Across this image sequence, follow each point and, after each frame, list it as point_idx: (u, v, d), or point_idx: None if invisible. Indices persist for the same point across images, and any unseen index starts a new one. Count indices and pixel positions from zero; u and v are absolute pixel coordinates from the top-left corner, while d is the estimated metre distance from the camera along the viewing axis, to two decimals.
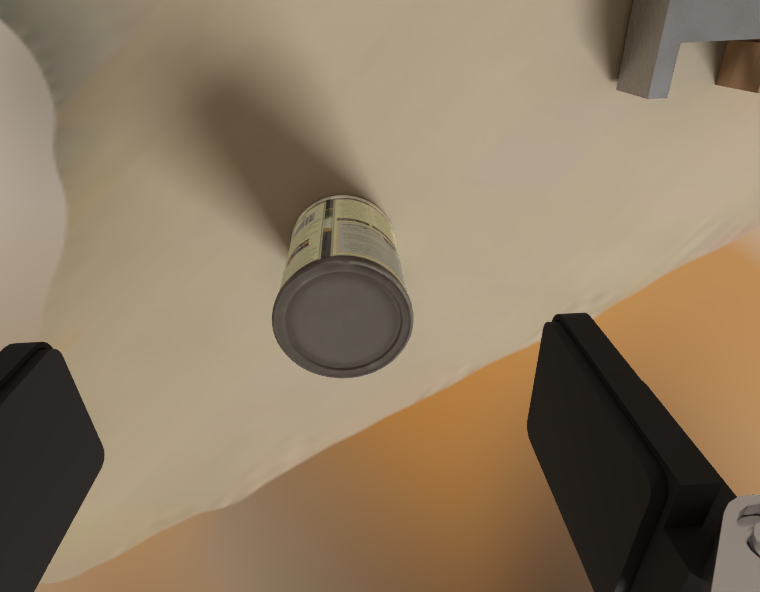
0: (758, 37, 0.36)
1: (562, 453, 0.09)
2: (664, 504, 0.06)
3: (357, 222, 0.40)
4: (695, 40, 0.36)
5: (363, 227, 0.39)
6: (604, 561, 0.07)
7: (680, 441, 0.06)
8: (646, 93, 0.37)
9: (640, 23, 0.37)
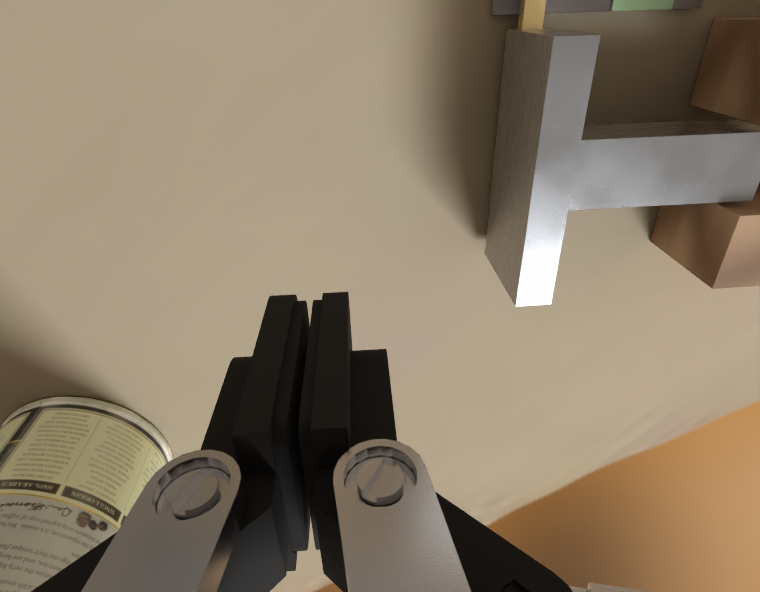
0: (713, 200, 0.20)
1: None
2: (312, 448, 0.07)
3: (29, 491, 0.23)
4: (599, 206, 0.20)
5: (32, 506, 0.22)
6: None
7: (340, 396, 0.07)
8: (514, 295, 0.20)
9: (505, 167, 0.21)
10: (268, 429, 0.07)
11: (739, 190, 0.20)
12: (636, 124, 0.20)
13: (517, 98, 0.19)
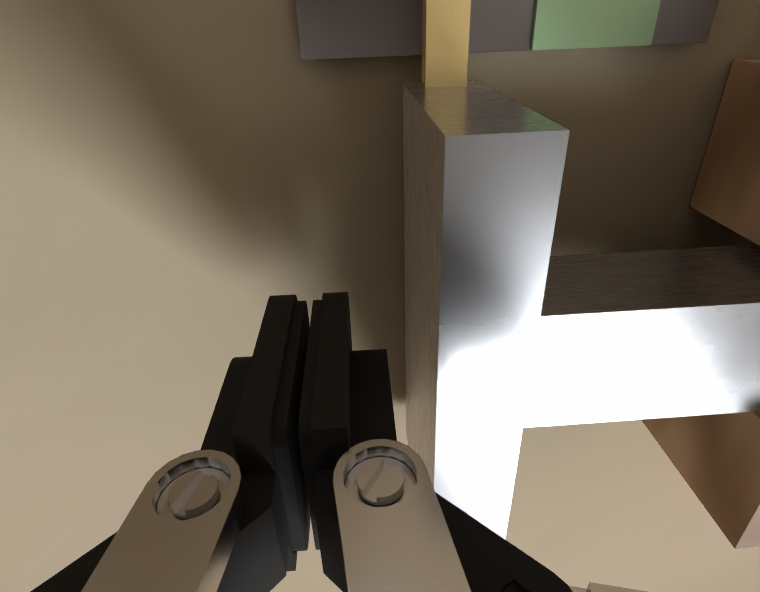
0: None
1: None
2: (312, 448, 0.07)
3: None
4: (587, 419, 0.10)
5: None
6: None
7: (339, 396, 0.07)
8: None
9: (413, 332, 0.11)
10: (268, 429, 0.07)
11: None
12: (656, 255, 0.11)
13: (416, 225, 0.09)
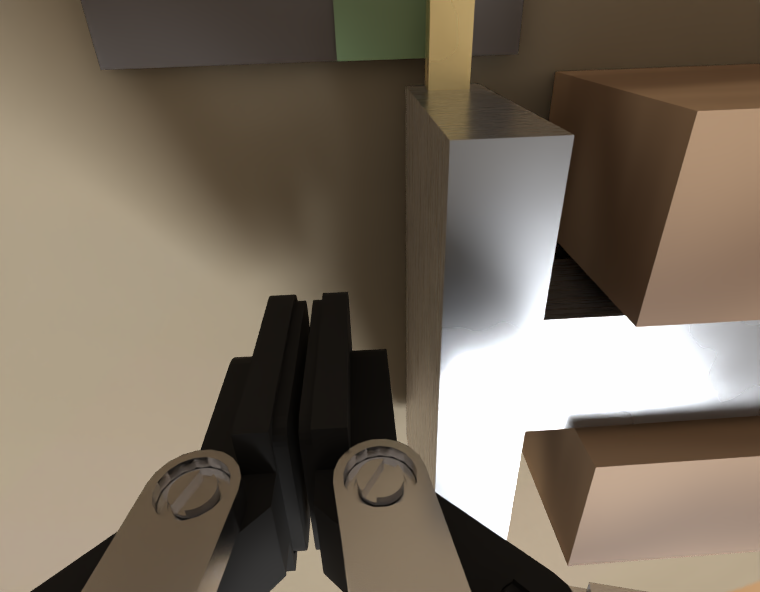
0: None
1: None
2: (312, 448, 0.07)
3: None
4: (588, 423, 0.10)
5: None
6: None
7: (340, 396, 0.07)
8: None
9: (414, 335, 0.11)
10: (268, 429, 0.07)
11: None
12: None
13: (418, 228, 0.09)
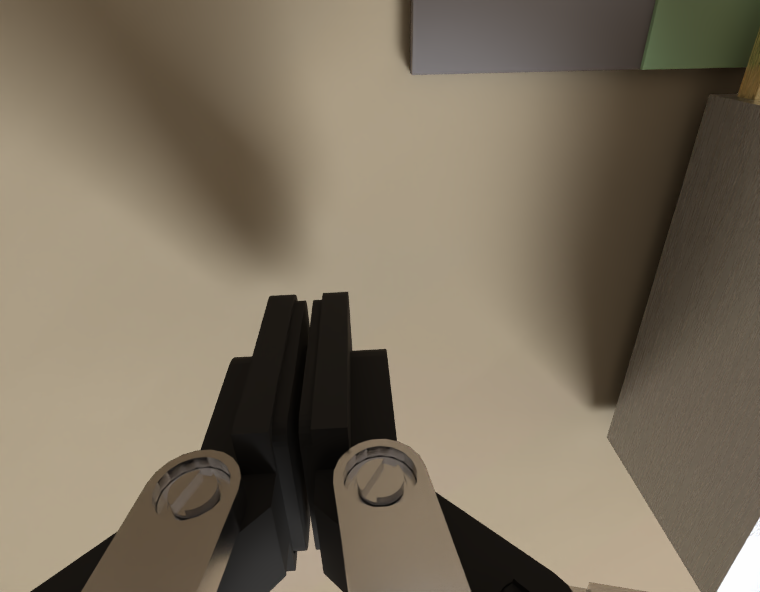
0: None
1: None
2: (313, 448, 0.07)
3: None
4: None
5: None
6: None
7: (340, 396, 0.07)
8: (704, 581, 0.11)
9: (686, 340, 0.11)
10: (268, 429, 0.07)
11: None
12: None
13: (747, 234, 0.09)
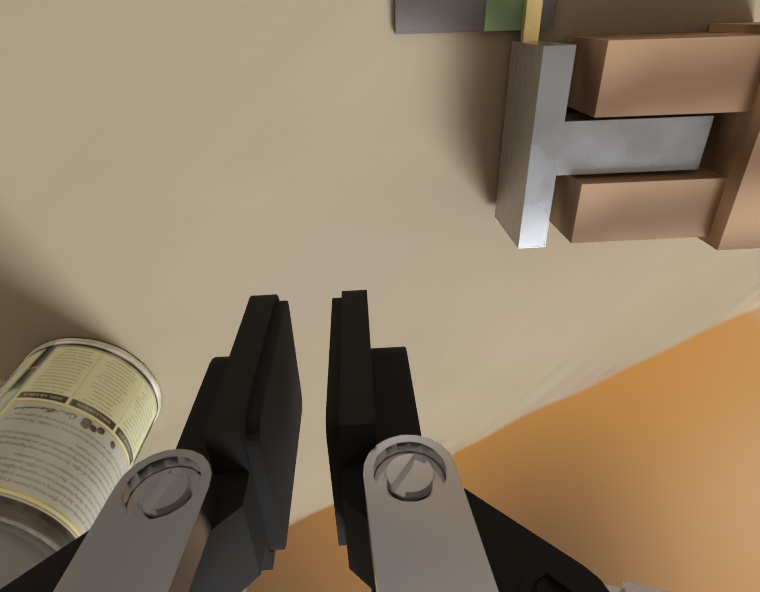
0: (668, 168, 0.27)
1: None
2: (340, 444, 0.07)
3: (44, 399, 0.29)
4: (581, 172, 0.26)
5: (46, 409, 0.29)
6: None
7: (366, 392, 0.07)
8: (517, 240, 0.27)
9: (510, 144, 0.27)
10: (240, 428, 0.07)
11: (687, 161, 0.26)
12: None
13: (519, 91, 0.25)
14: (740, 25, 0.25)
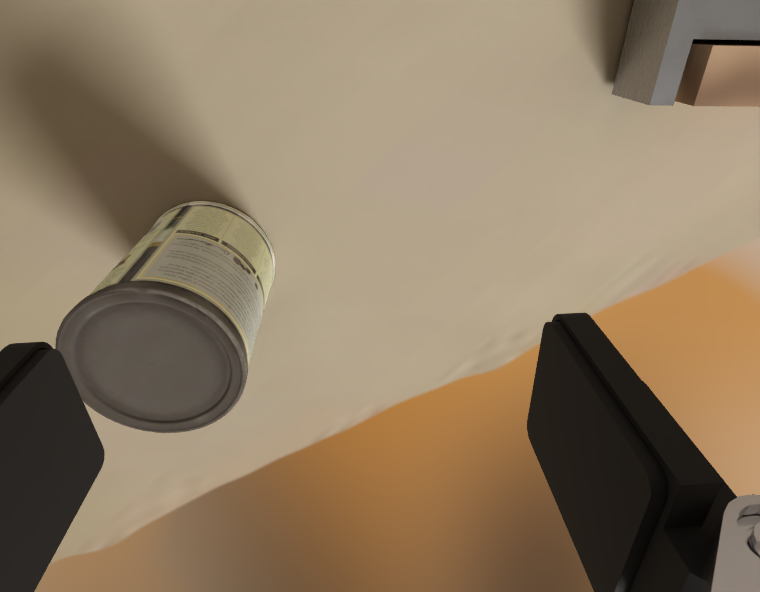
0: None
1: (562, 453, 0.09)
2: (664, 504, 0.06)
3: (200, 236, 0.32)
4: (710, 37, 0.29)
5: (205, 243, 0.31)
6: (604, 561, 0.07)
7: (680, 441, 0.06)
8: (648, 98, 0.30)
9: (644, 13, 0.30)
10: None
11: None
12: None
13: None
14: None
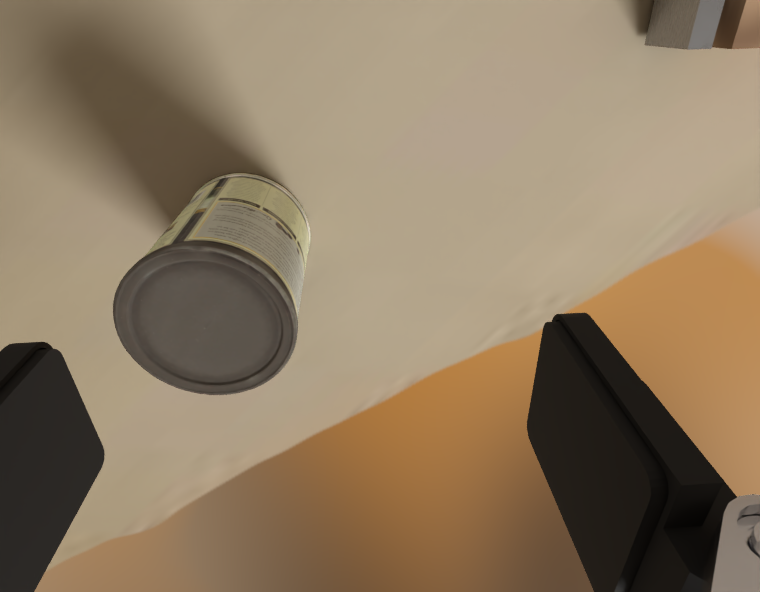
0: None
1: (561, 453, 0.09)
2: (664, 504, 0.06)
3: (243, 203, 0.32)
4: None
5: (248, 209, 0.32)
6: (604, 561, 0.07)
7: (680, 441, 0.06)
8: (685, 43, 0.30)
9: None
10: None
11: None
12: None
13: None
14: None
